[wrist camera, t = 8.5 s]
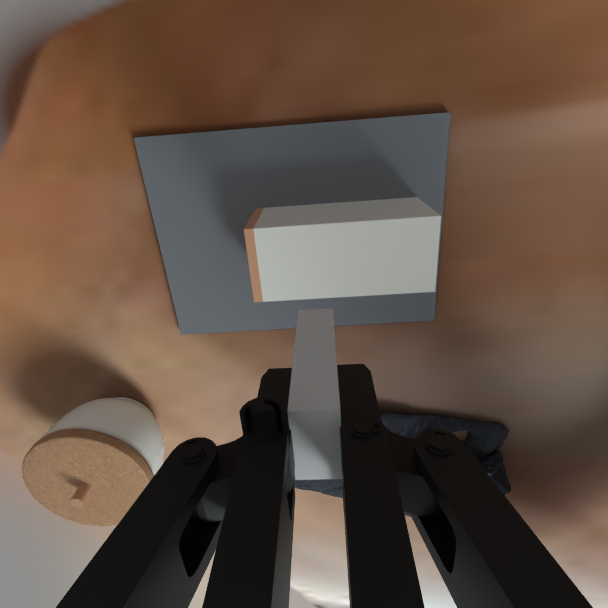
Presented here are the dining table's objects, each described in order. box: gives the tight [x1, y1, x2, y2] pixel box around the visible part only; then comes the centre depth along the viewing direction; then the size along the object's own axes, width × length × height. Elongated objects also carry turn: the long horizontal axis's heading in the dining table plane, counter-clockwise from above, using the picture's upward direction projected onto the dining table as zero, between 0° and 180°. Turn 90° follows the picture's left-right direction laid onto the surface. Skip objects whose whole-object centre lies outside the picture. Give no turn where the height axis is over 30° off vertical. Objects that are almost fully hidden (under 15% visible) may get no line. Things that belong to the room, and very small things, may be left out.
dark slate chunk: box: [294, 412, 511, 517], centre depth 40 cm, size 15×22×5 cm
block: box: [244, 197, 441, 302], centre depth 28 cm, size 5×6×12 cm
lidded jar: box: [22, 397, 165, 526], centre depth 36 cm, size 11×11×9 cm
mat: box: [134, 112, 451, 334], centre depth 31 cm, size 16×22×1 cm
